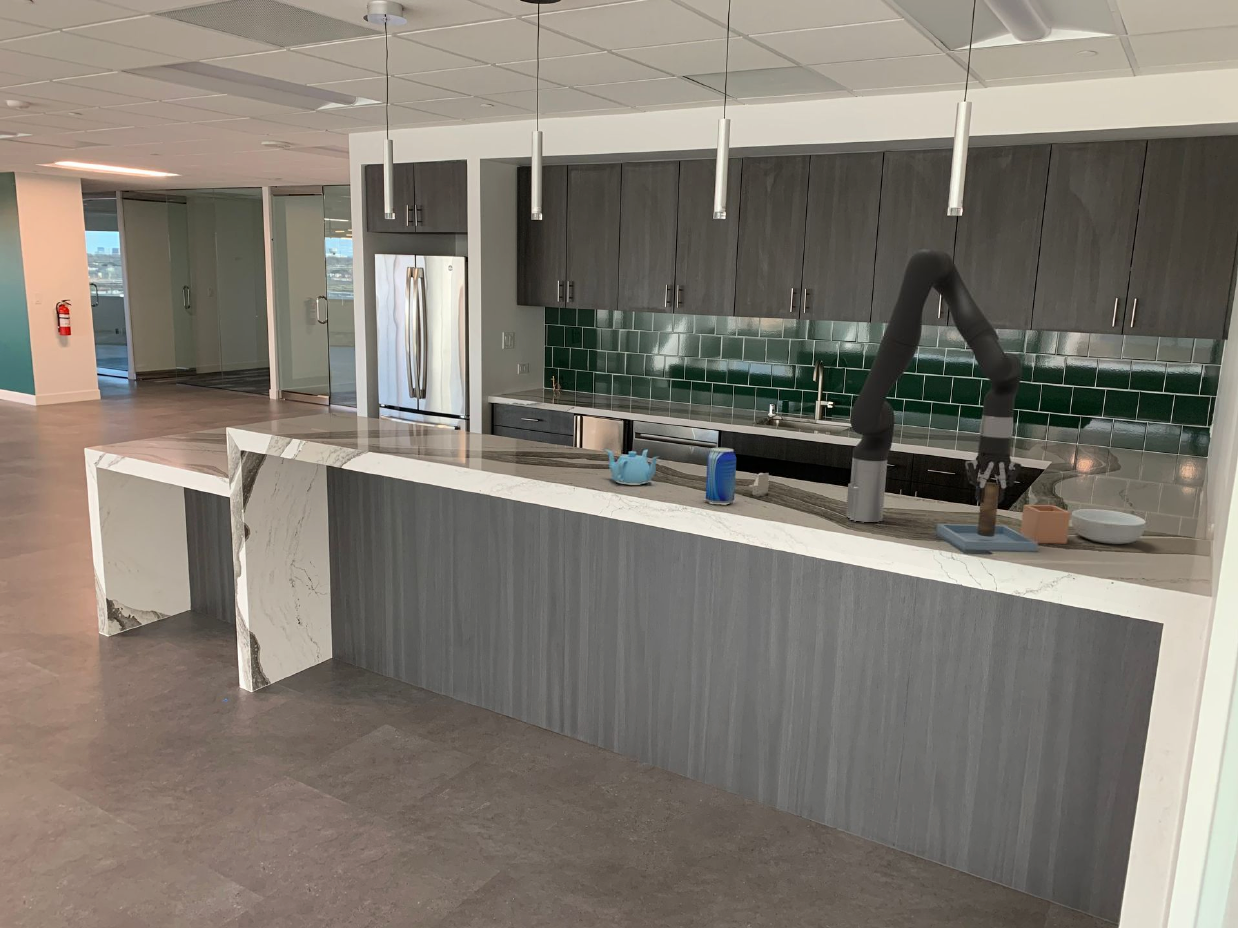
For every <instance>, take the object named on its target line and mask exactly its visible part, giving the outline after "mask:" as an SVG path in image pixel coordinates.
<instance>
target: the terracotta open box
mask: <svg viewBox="0 0 1238 928" xmlns="http://www.w3.org/2000/svg"><path fill="white" fill-rule="evenodd" d="M1022 509H1023V510H1022V518H1021V525H1020V534H1022V535H1024V536H1026V537H1028V538H1030V539H1032V540H1034V541H1035V542H1037V543H1038V544H1065V545H1066V544H1067V543H1068V537H1069V535H1068V534H1069V527H1070V526H1069V525H1070V520H1071V512H1070V511H1068V510H1066V509H1063V508H1061V507H1058V506H1056V505H1045V504H1044V505H1043V504H1041V505H1039V504H1023V507H1022Z"/></svg>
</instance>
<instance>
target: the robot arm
mask: <svg viewBox="0 0 1238 928" xmlns="http://www.w3.org/2000/svg"><path fill="white" fill-rule="evenodd" d="M932 288H933V289H934V290H935V291H936V292H937V293H938V294H939V295H940V296H941V298H942V299H943V300H944V301H945V304H946V305H947V306H948V310H949V312H950V314H951V317H952V321H953V324H954V326H955V327H956V330H957V331H958V333H959V335H960V337H962V339H963V340H964V342H965V343H966V345H967V346H968V347H969V349H970V350H971V352H972V353H973V357H974V358H975V361H976V363H977V365H978V367H979V369H980V371H981V372H982V374H983V375H984V376H985V377H986V378H987V379H988V380H989V381H991V383H990V384H991V385H990V389H989V391H988V392H987V393H986V394H985V395H984V399H983V406H982V407H983V408H982V416H981V421H980V426H979V430H978V431H979V438H978V445H977V446H978V447H977V456H976V457H975V459H973V460H970V461H969V460H965V461H964V467H965V471H966V474H967V478H968V483H970V484H971V485H973V486H975V496H974V497H975V500H976V501H977V502H978V503H980V502H981V503H983V501H984V491H985V488H983V487H984V486H985V483H986V482H987V480H989V479H990V476H992V475H994V477H995V480H996V483H997V484H999V495H998V504H1001V503H1002V502H1003V501H1004V497H1005V490H1006V488H1007V487H1012V486H1013V485H1014V484H1015V482H1016V479H1017V477H1018V474H1019V472H1020V470H1021V468H1022V464H1020V463H1019V462H1017V461H1016V462H1015V461H1012V459H1011V452H1012V442H1013V432H1014V431H1013V430H1014V411H1015V401H1016V400H1015V399H1016V395H1017V393H1018V390H1019V385H1020V382H1021V378H1022V372H1023V366H1022V361H1021V359H1020V358H1019V357H1018V355H1016V354H1015V353H1012V352H1011V353H1010V352H1004V350H1003V349H1002V346H1001V345H1000V343H999V342H998V341H999V335H998V333H997V331H996V330H995V329H994V327H993V326H992V324H991V323H990V321H989V320H988V318H986V316H985V315H984V313H983V312H982V310H980V308H979V306H978V305H977V303H976V302H975V300H974V299H973V297H972V296H971V294H970V291H969V290H968V288H967V286H966V284H965V282H964V281H963V279H962V277H961V275H960V273H959V271H958V268H957V266H956V263H955V262H954V260H953V259H952V257H951V255H950V254H949V253H948V252H947V251H945V250H941V249H937V248H936V249H934V248H922V249H919V250H917V251H916V252H914V253H913V254H912V255H911V257H910V259H909V260H908V262H907V265H906V268H905V272H904V275H903V278H902V283H901V286H900V290H899V294H898V297H897V300H896V303H895V306H894V307H893V310H892V313H891V314H890V315H891V316H890V318H889V321H888V324H887V326H886V328H885V330H884V332H883V336H882V339H881V341H880V343H879V346H878V349H877V352H876V355H875V357H874V360H873V363H872V365H871V368H870V370H869V373H868V374H867V378H866V380H865V382H864V385H863V387H862V388H861V391H860V392H859V395H858V396H857V398H856V400H855V402H854V404H853V406H852V409H851V412H850V417H849V420H850V421H849V423H850V426H851V429H852V430H853V431H854V432H855V433H856V434H858V435H862V437H861V440H860V441H859V442H858V444H856V445H855V446H854V447H853V451H852V462H851V473H850V475H851V476H850V483H848V485H847V498H846V508H845V509H846V511H845V517H846V516H847V517H848V518H850V519H849V521H851V520H854V521H853V522H856V521H864V522H878V523H880V522H879V521H881V522H883V516H884V505H885V491H886V479H887V478H886V477H887V469H888V468H887V466H888V456H889V453H890V451H891V449H892V446H893V445H892V444H893V436H894V430H895V413H894V412H895V410H894V409H893V407H892V405H891V404H890V403H889V402H888V401H886V399H887V397H888V395H889V392H890V391H891V389H892V388H893V386H895V383H897V381H898V380H899V379H900V378H901V377H902V375H904V373H905V371H907V369H908V368H909V367H910V365H911V363H912V362H913V359H914V357H915V355H916V353H917V349H918V347H919V344H920V342H921V338H922V333H923V332H922V329H923V311H924V307H925V304H926V302H927V299H928V298H929V297H928V296H929V294H930V292H931V290H932ZM977 466H978V468H979V470H978V474H977V475H976V469H977ZM1007 469H1008V473H1007V474H1006V472H1005V471H1006V470H1007ZM847 517H846V518H847ZM848 518H847V519H848ZM864 522H863V523H864Z"/></svg>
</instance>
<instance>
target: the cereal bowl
mask: <svg viewBox="0 0 1238 928" xmlns="http://www.w3.org/2000/svg"><path fill="white" fill-rule="evenodd" d="M1070 521H1071V525H1072V528H1073V530H1074V531H1075V532H1076V534H1078V535H1080V536H1081V537H1083V538H1085V539H1087V540H1089V541H1092V542H1096V543H1101V544H1108V545H1123V544H1129V543H1134V542H1135V541H1137V540H1139V539H1140V538H1141V536H1143V534H1144V532H1145V528H1146V521H1145V519H1144V518H1142V517H1140V516H1137V515H1134V514H1130V513H1126V512H1120V511H1116V510H1107V509H1097V508H1096V509H1093V508H1087V509H1085V508H1083V509H1077V510H1073V511H1072V512H1071V517H1070Z"/></svg>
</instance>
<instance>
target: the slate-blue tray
mask: <svg viewBox="0 0 1238 928" xmlns="http://www.w3.org/2000/svg"><path fill="white" fill-rule="evenodd" d="M977 532H978V524H965V523H964V524H962V523H960V524H959V523H958V524H957V523H956V524H955V523H954V524H953V523H952V524H951V523H937V524H936V532H935V535H936V537H938V538H940V539H942V540H943V541H945V542H946V543H948V544H949V545H950V546H952V547H953V548H955V549H957V550H958V551H960V552H961V553H963V554H968V555H969V554H971V555H972V554H974V555H979V554H981V555H982V554H984V555H994V553H993V552H1019V553H1020V552H1025V553H1026V552H1027V553H1028V552H1029V553H1038V549H1039V548H1038V547H1039V543H1037V542H1035V541H1034V540H1032V539H1030V538H1028V537H1026V536H1024V535H1022V534H1021V532H1019V531H1017V530H1014V529H1012V528H1010V527H1008V526H1007V525H1005V524H1004V525H1003V524H1002V525H1001V524H1000V525H999V524H995V534H994V536H992V537H987V536H981V535H978V534H977Z"/></svg>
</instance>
